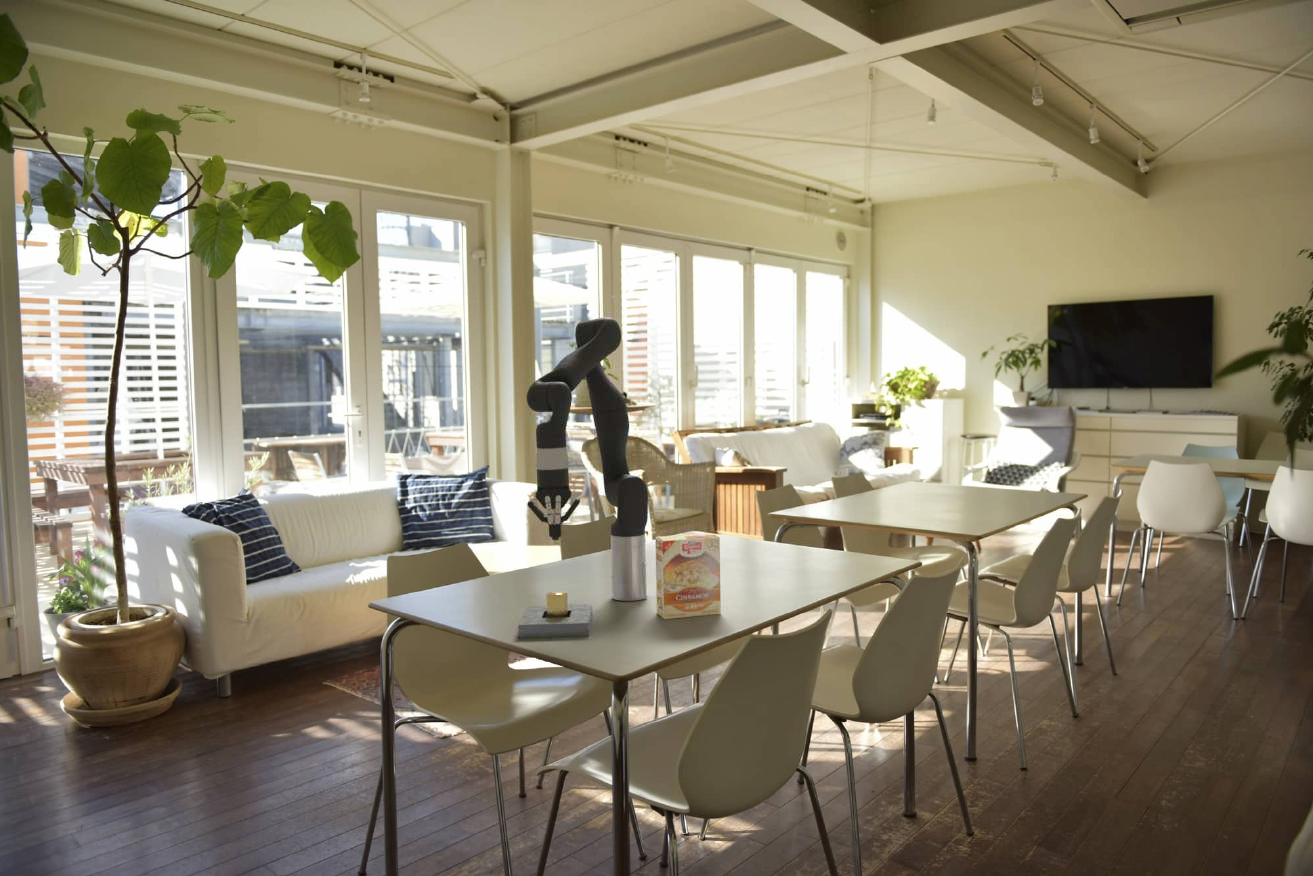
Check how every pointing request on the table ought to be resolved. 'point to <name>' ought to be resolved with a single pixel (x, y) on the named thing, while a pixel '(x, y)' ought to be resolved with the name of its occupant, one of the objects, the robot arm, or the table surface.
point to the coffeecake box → (688, 575)
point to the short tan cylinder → (557, 604)
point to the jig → (556, 622)
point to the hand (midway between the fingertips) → (555, 539)
